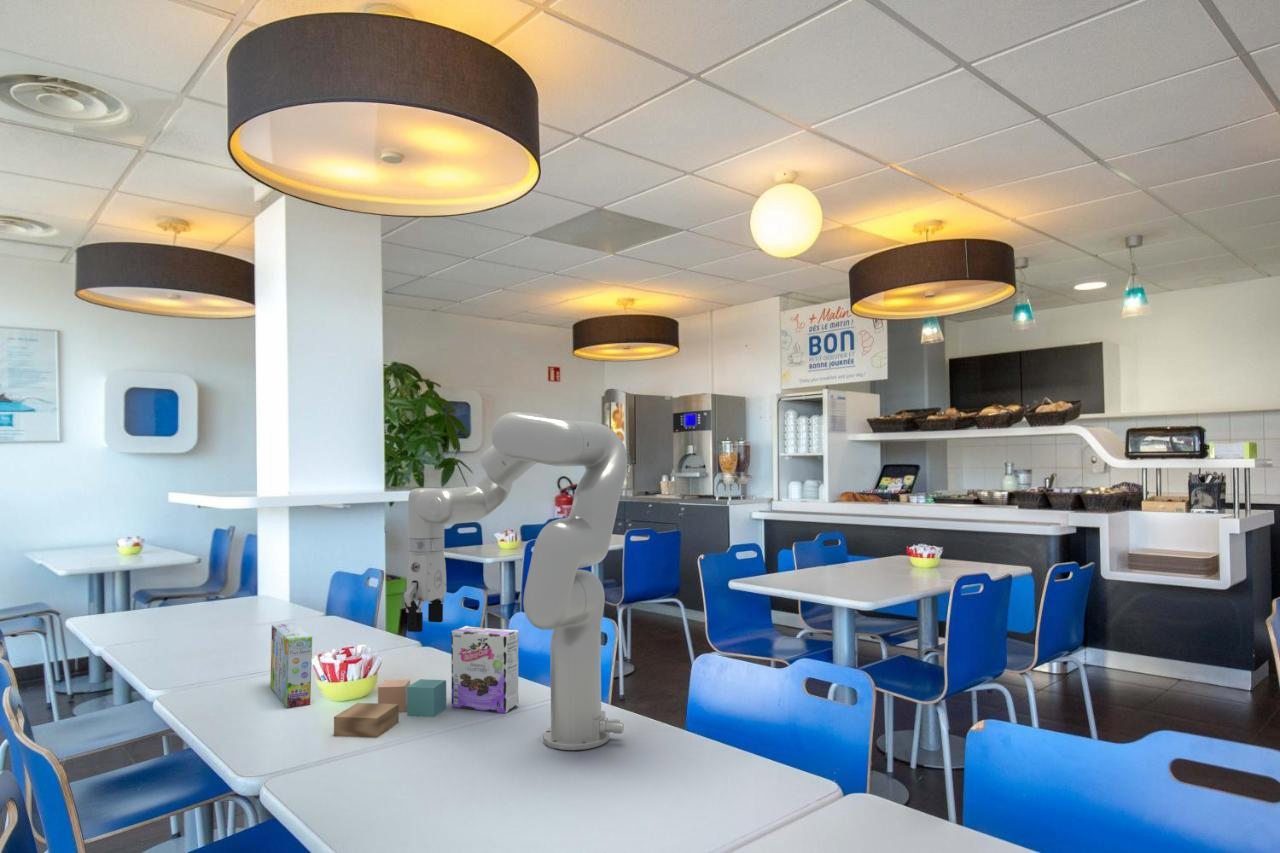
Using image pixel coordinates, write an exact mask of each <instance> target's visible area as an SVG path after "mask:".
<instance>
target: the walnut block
mask: <svg viewBox="0 0 1280 853" xmlns="http://www.w3.org/2000/svg"><path fill="white" fill-rule="evenodd" d="M399 715H400V714H399V704H379V703H378V702H377V703H376V702H375V703H373V702H372V703H371V702H356V703H355V704H352V706H350V707H348V708H346V709H344V710H342V712H340V713H338V714H336V715H335V716H333V737H345V738H346V737H350V738H372V739H378V738H379V737H381V736H382V735H383V734H384V733H386V732H388V731H389V730H390V729H392V728H393V727H394V726H396V725H397V724H399V723H400V722H399V719H400V718H399Z"/></svg>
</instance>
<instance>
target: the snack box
mask: <svg viewBox="0 0 1280 853" xmlns="http://www.w3.org/2000/svg"><path fill="white" fill-rule="evenodd" d="M270 641H271V642H270V644H271V645H270V646H271V647H270V649H271V650H270V681H269V682H270V686H269V687H270V689H271V690H272V691H273V692H274V693H275V695H276V697H278V699H279V700H280V701H281V703H282V704H283V705H284V706H285V708H287V709H288V708H296V707H301V706H309V705H311V691H312V689H311V688H312V658H313V657H312V656H313V655H312V654H313V636H312V635H311V634H310V633H309V632H307V631H305V630H304V629H303V628H302V627H301V626H299V625H297V624H296V623H295V622H293V621H291V622H283V623H275V624H271V640H270Z"/></svg>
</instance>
